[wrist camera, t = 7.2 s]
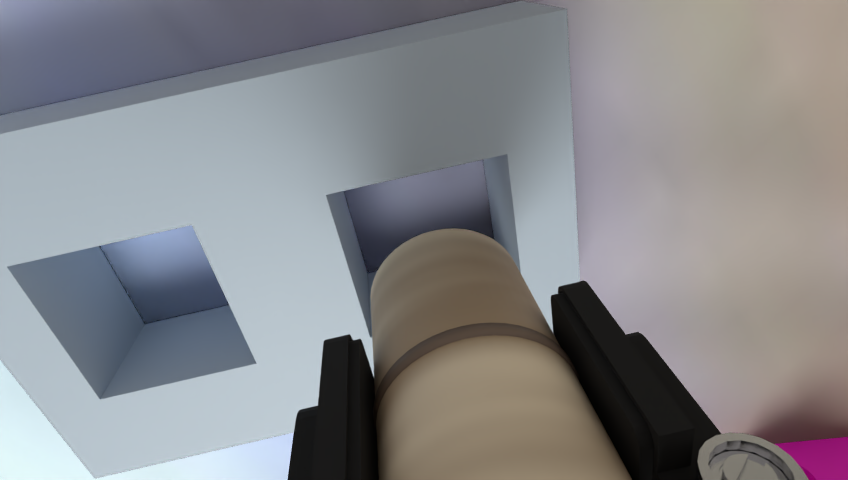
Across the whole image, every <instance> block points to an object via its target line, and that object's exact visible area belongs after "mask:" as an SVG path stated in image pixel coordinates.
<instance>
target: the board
mask: <svg viewBox="0 0 848 480" xmlns="http://www.w3.org/2000/svg"><path fill="white" fill-rule="evenodd" d="M479 160H483V164H484V171H485V178H486V185H487V192H488V199H489V206H490V214H491V221H492V228H493V235H494V240H495V241H496V242H498V243H499V244H500V245H502V246H503V247H504V248H505V249H506V250H507V251H508V253H509V254H510V255H511V257H512V258H513V260H514V262H515V264H516V266H517V267H518V269H519V271H520V273H521V275H522V277H523V278H524V280H525V282H526V284H527V286H528V288H529V290H530V291H531V293H532V295H533V297H534V299H535V301H536V302H537V304H538V306H539V308H540V310H541V312H542V314H543V315H544V317H545V319H546V321H547V323H548V325H549V326H550V328H551V330H552V332H553V323H552V311H551V295H554V294H558V287H559V286H563V285H567V284H572V283H576V282H580V274H579V253H578V232H577V210H576V189H575V168H574V147H573V125H572V104H571V83H570V62H569V40H568V19H567V9H565V8H559V7H554V6H548V5H543V4H537V3H532V2H526V1H516V2H512V3H507V4H503V5H498V6H494V7H489V8H485V9H480V10H476V11H471V12H467V13H462V14H457V15H453V16H448V17H444V18H439V19H435V20H430V21H426V22H421V23H417V24H412V25H408V26H403V27H398V28H394V29H389V30H385V31H380V32H376V33H371V34H367V35H362V36H358V37H353V38H349V39H344V40H339V41H335V42H330V43H326V44H321V45H317V46H312V47H308V48H303V49H299V50H294V51H289V52H285V53H280V54H276V55H271V56H267V57H262V58H258V59H253V60H249V61H244V62H240V63H235V64H230V65H226V66H221V67H217V68H212V69H208V70H203V71H199V72H194V73H190V74H185V75H181V76H176V77H171V78H167V79H162V80H158V81H153V82H149V83H144V84H140V85H135V86H131V87H126V88H122V89H117V90H112V91H108V92H103V93H99V94H94V95H90V96H85V97H81V98H76V99H72V100H67V101H63V102H58V103H53V104H49V105H44V106H40V107H35V108H31V109H26V110H22V111H17V112H13V113H8V114H4V115H0V360H1V361H2V363H3V364H4V365H5V366H6V368H7V369H8V370H9V372H10V373H11V374H12V375H13V377H14V378H15V379H16V380H17V382H18V383H19V384H20V385H21V387H22V388H23V389H24V390H25V392H26V393H27V394H28V395H29V397H30V398H31V399H32V400H33V402H34V403H35V404H36V405H37V407H38V408H39V409H40V410H41V412H42V413H43V414H44V415H45V417H46V418H47V419H48V421H49V422H50V423H51V424H52V426H53V427H54V428H55V429H56V431H57V432H58V433H59V434H60V436H61V437H62V438H63V439H64V441H65V442H66V443H67V444H68V446H69V447H70V448H71V449H72V451H73V452H74V453H75V454H76V456H77V457H78V458H79V459H80V461H81V462H82V463H83V464H84V466H85V467H86V468H87V470H88V471H89V472H90V473H91V475H92V476H93V477H94V478H100V477H104V476H108V475H113V474H117V473H121V472H126V471H130V470H134V469H138V468H143V467H147V466H151V465H156V464H160V463H164V462H169V461H173V460H177V459H182V458H186V457H190V456H194V455H199V454H203V453H207V452H212V451H216V450H220V449H225V448H229V447H233V446H238V445H242V444H246V443H250V442H255V441H259V440H263V439H268V438H272V437H276V436H281V435H285V434H289V433H294V429H295V421H296V416H297V413H298V411H299V410H301V409H305V408H309V407H314V406H318V398H319V387H320V375H321V364H322V352H323V343H324V340H326V339H331V338H335V337H340V336H344V335H348V334H350V335H351V337H352V339H353V340H357V339H361V340H362V343H363V345H364V348H365V352H366V355H367V358H368V361H369V364H370V367H371V370H372V373H373V376H374V364H373V342H372V320H371V297H370V296H371V287H372V284H373V280H374V277H375V275H376V273H377V271H376V272H372V273H367V270H366V267H365V263H364V260H363V256H362V253H361V249H360V246H359V243H358V239H357V236H356V232H355V229H354V225H353V222H352V219H351V215H350V212H349V208H348V205H347V201H346V198H345V195H344V191H345V190H350V189H354V188H359V187H363V186H368V185H372V184H377V183H381V182H385V181H390V180H394V179H399V178H403V177H408V176H412V175H417V174H421V173H425V172H430V171H434V170H439V169H443V168H448V167H452V166H457V165H461V164H465V163H470V162H474V161H479ZM190 225H192V227H193V229H194V231H195V233H196V235H197V237H198V240H199V242H200V244H201V246H202V248H203V250H204V252H205V254H206V257H207V259H208V261H209V263H210V265H211V267H212V269H213V272H214V274H215V276H216V278H217V280H218V282H219V284H220V286H221V289H222V291H223V293H224V295H225V297H226V299H227V301H228V304H229V305H227V306H223V307H218V308H214V309H209V310H205V311H201V312H196V313H192V314H187V315H183V316H179V317H174V318H170V319H166V320H161V321H157V322H152V323H148V324H144V322H143V320H142V319H141V317H140V315H139V313H138V312H137V310H136V308H135V307H134V305H133V303H132V301H131V300H130V298H129V296H128V295H127V293H126V291H125V289H124V288H123V286H122V284H121V283H120V281H119V279H118V277H117V276H116V274H115V272H114V271H113V269H112V267H111V265H110V264H109V262H108V260H107V259H106V257H105V255H104V253H103V252H102V250H101V248H100V247H99V246H101V245H105V244H110V243H114V242H119V241H123V240H128V239H132V238H137V237H141V236H145V235H150V234H154V233H159V232H163V231H168V230H172V229H177V228H181V227H185V226H190Z"/></svg>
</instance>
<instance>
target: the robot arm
mask: <svg viewBox="0 0 848 480" xmlns="http://www.w3.org/2000/svg"><path fill="white" fill-rule="evenodd" d="M551 311H552V323H553V334H554V336H555V338H556V339H557V341H558V343H559V345H560V347H561V348H562V349H563V350H564V351H565V352H566V354H567V355H568V356H569V358H570V360H571V362H572V364H573V365H574V367H575V369H576V371H577V373H578V374H579V382H580V384H581V386H582V387H583V389H584V391H585V393H586V395H587V397H588V399H589V400H590V402H591V404H592V406H593V408H594V410H595V412H596V413H597V415H598V417H599V419H600V421H601V423H602V424H603V426H604V428H605V430H606V432H607V434H608V436H609V437H610V439H611V441H612V443H613V445H614V447H615V448H616V450H617V452H618V454H619V456H620V458H621V460H622V461H623V463H624V465H625V467H626V469H627V471H628V472H629V474H630V476H631V478H632V480H809V479H808V478H807V476H806V475H805V473H804V471H803V470H802V469H801V467H800V466H799V465H798V464H797V463H796V461H795V460H794V459H793V458H792V457H791V456H790V455H789V454H788V453H786V452H785V451H784V450H782V449H781V448H780V447H778V446H777V445H775V444H773V443H771V442H769V441H767V440H765V439H763V438H760V437H756V436H752V435H749V434H745V433H725V434H721V433H720V432H719V430H718V429H717V428H716V426H715V425H714V424H713V423H712V421H711V420H710V419H709V418H708V416H707V415H706V414H705V413H704V411H703V410H702V409H701V407H700V406H699V405H698V404H697V402H696V401H695V400H694V399H693V397H692V396H691V395H690V393H689V392H688V391H687V390H686V388H685V387H684V386H683V385H682V383H681V382H680V381H679V379H678V378H677V377H676V376H675V374H674V373H673V372H672V371H671V369H670V368H669V367H668V365H667V364H666V363H665V362H664V360H663V359H662V358H661V357H660V355H659V354H658V353H657V351H656V350H655V349H654V348H653V346H652V345H651V344H650V343H649V341H648V340H647V339H646V338H645V337H644V336H643V335H642V334H641V333H639V332H636V333H631V334H627V335H625V333H624V332H623V330H622V329H621V328H620V326H619V325H618V324H617V322H616V321H615V320H614V318H613V317H612V316H611V314H610V313H609V311H608V310H607V309H606V307H605V306H604V305H603V303H602V302H601V301H600V299H599V298H598V297H597V295H596V294H595V293H594V291H593V290H592V288H591V287H590V286H589V284H588V283H587V282H586V281H580V282H576V283H572V284H567V285H563V286H559V287H558V294H554V295H551ZM374 399H375V386H374V376H373V373H372V370H371V367H370V364H369V361H368V358H367V355H366V352H365V348H364V345H363V343H362V340H361V339H357V340H353V339H352V337H351V335H350V334H348V335H344V336H340V337H335V338H331V339H326V340H324V343H323V352H322V364H321V375H320V387H319V398H318V406H314V407H309V408H305V409H301V410H299V411H298V413H297V416H296V421H295V429H294V436H293V444H292V451H291V459H290V466H289V474H288V480H379V475H378V453H377V432H376V429H375V426H374V423H373V406H374Z"/></svg>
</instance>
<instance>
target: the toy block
mask: <svg viewBox="0 0 848 480" xmlns="http://www.w3.org/2000/svg"><path fill="white" fill-rule="evenodd" d="M775 445H777V446H778V447H780V448H781V449H782V450H784V451H785V452H786V453H788V454H789V455H790V456H791V457H792V458H793V459H794V460H795V461H796V463H797V464H798V465H799V466H800V467H801V469H802V470H803V471H804V473H805V475H806V476H807V478H808V479H809V480H848V437H841V438H831V439H820V440H810V441H799V442H789V443H779V444H775Z"/></svg>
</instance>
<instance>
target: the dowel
mask: <svg viewBox="0 0 848 480" xmlns="http://www.w3.org/2000/svg"><path fill="white" fill-rule="evenodd" d="M370 297H371V320H372V342H373V364H374V386H375V399H374V406H373V423H374V426H375V429H376V432H377V453H378V475H379V480H632V478H631V476H630V474H629V472H628V471H627V469H626V467H625V465H624V463H623V461H622V460H621V458H620V456H619V454H618V452H617V450H616V448H615V447H614V445H613V443H612V441H611V439H610V437H609V436H608V434H607V432H606V430H605V428H604V426H603V424H602V423H601V421H600V419H599V417H598V415H597V413H596V412H595V410H594V408H593V406H592V404H591V402H590V400H589V399H588V397H587V395H586V393H585V391H584V389H583V387H582V386H581V384H580V382H579V374H578V373H577V371H576V369H575V367H574V365H573V364H572V362H571V360H570V358H569V356H568V355H567V354H566V352H565V351H564V350H563V349H562V348H561V347H560V345H559V343H558V341H557V339H556V338H555V336H554V334H553V332H552V330H551V328H550V326H549V325H548V323H547V321H546V319H545V317H544V315H543V314H542V312H541V310H540V308H539V306H538V304H537V302H536V301H535V299H534V297H533V295H532V293H531V291H530V290H529V288H528V286H527V284H526V282H525V280H524V278H523V277H522V275H521V273H520V271H519V269H518V267H517V266H516V264H515V262H514V260H513V258H512V257H511V255H510V254H509V253H508V251H507V250H506V249H505V248H504V247H503V246H502V245H500V244H499V243H498V242H496V241H495V240H494V239H492V238H490V237H488V236H486V235H484V234H481V233H478V232H475V231H471V230H466V229H455V228H452V229H440V230H434V231H430V232H426V233H423V234H420V235H418V236H416V237H413V238H411V239H410V240H408V241H406V242H404V243H403V244H401V245H400V246H399V247H397V248H396V249H395V250H394V251H393V252H392V253H391V254H390V255H388V257H387V258H386V259H385V260H384V262H383V263H382V264H381V266H380V267H379V269H378V271H377V273H376V275H375V277H374V280H373V284H372V287H371V296H370Z"/></svg>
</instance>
